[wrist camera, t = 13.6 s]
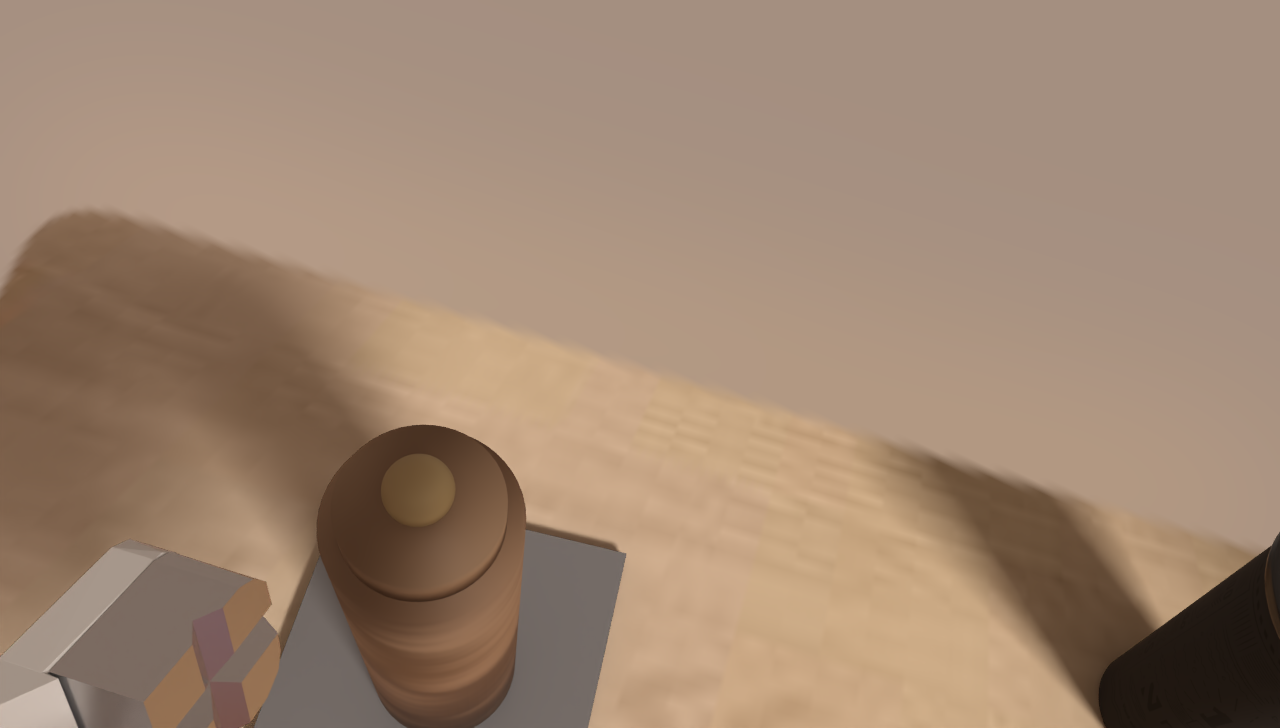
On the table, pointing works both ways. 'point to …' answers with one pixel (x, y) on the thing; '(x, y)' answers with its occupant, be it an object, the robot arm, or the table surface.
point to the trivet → (544, 665)
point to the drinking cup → (1206, 660)
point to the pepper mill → (428, 571)
